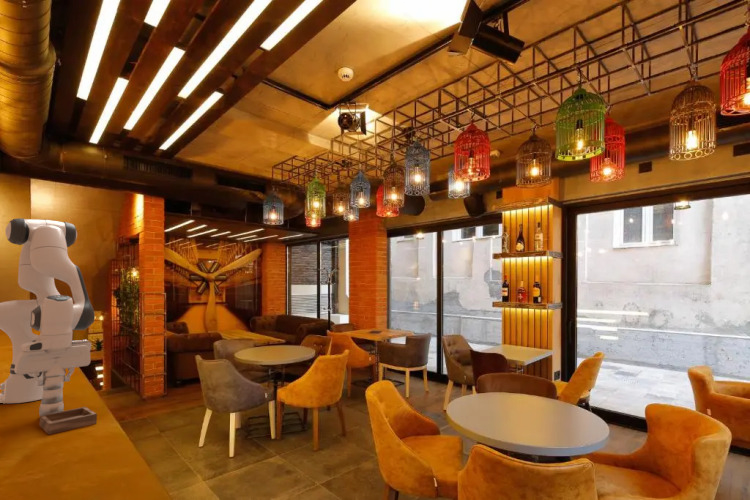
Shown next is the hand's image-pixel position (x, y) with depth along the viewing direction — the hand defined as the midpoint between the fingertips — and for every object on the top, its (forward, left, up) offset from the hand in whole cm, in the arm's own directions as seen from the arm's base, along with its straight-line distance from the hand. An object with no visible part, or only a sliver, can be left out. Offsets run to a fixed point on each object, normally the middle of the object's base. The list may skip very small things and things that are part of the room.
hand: (53, 383), depth 133 cm
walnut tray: (+14, +2, -11) cm, 18 cm away
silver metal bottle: (0, 0, -11) cm, 11 cm away
